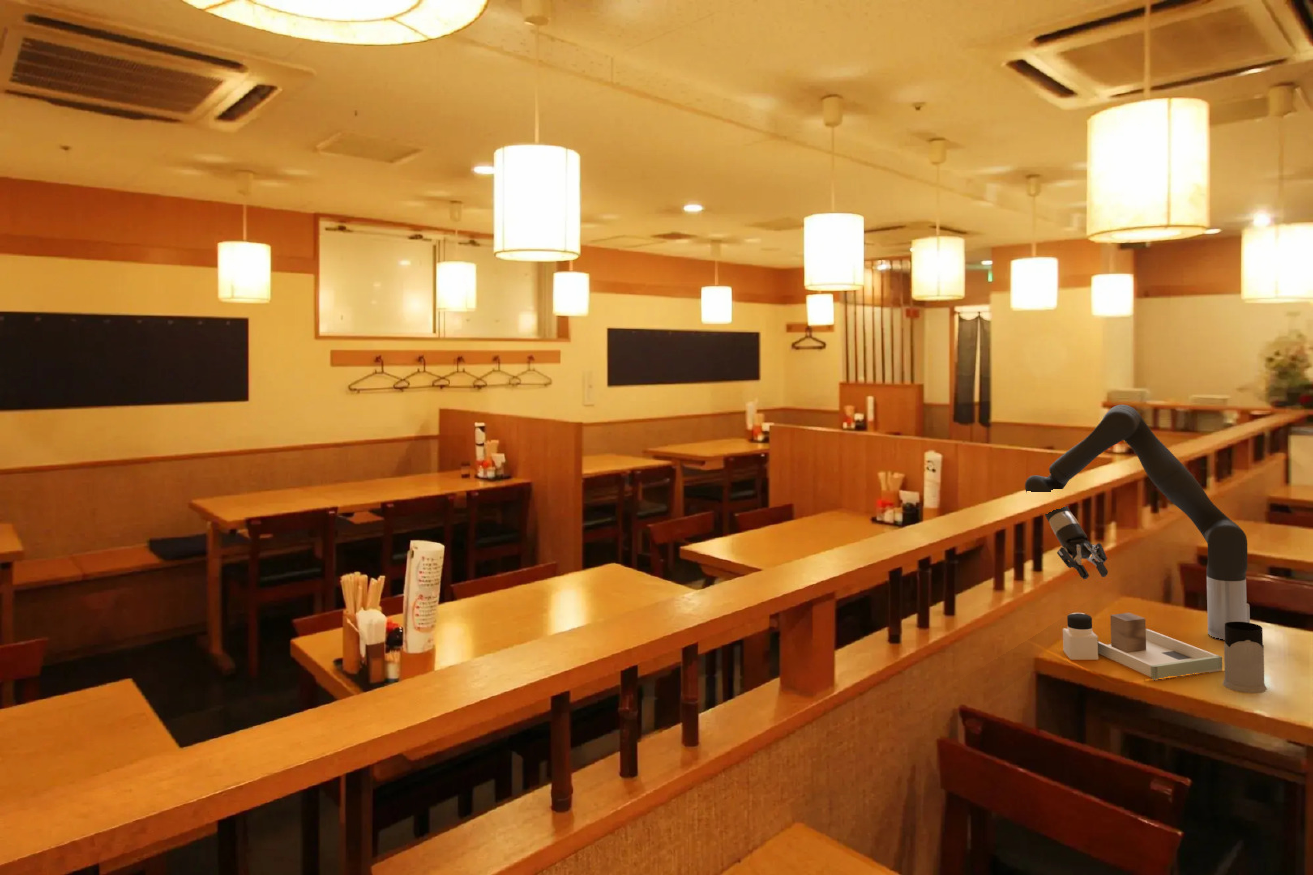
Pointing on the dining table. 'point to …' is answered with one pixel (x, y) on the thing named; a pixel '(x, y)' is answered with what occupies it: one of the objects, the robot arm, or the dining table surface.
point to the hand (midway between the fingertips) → (1095, 576)
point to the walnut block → (1128, 632)
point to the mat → (1176, 655)
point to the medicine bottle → (1080, 638)
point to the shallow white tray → (1164, 657)
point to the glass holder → (1244, 657)
